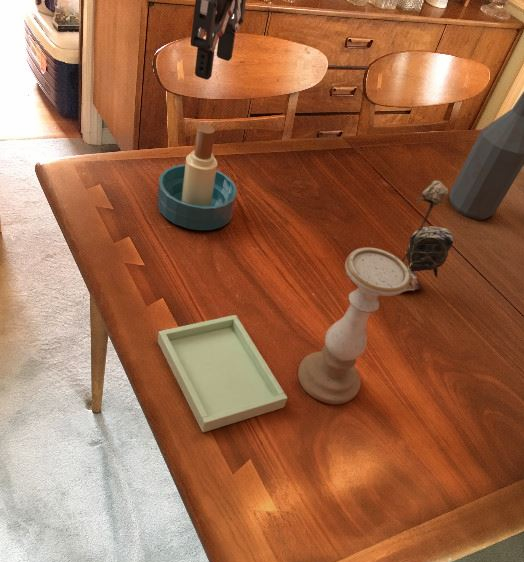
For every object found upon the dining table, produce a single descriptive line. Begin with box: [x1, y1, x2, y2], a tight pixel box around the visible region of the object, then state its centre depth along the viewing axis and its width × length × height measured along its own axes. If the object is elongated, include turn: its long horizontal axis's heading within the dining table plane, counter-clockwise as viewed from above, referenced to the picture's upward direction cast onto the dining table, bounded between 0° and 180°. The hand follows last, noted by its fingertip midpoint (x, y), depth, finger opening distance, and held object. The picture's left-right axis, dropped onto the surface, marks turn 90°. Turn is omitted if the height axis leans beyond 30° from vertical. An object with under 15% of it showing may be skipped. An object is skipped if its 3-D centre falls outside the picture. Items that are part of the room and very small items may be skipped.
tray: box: [157, 314, 288, 433], centre depth 73 cm, size 16×12×2 cm
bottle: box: [448, 91, 524, 221], centre depth 108 cm, size 10×10×30 cm
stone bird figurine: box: [401, 179, 457, 292], centre depth 89 cm, size 8×11×20 cm
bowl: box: [156, 163, 238, 231], centre depth 96 cm, size 13×13×5 cm
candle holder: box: [297, 246, 410, 405], centre depth 70 cm, size 9×9×20 cm
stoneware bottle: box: [181, 124, 219, 206], centre depth 92 cm, size 5×5×14 cm
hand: (213, 67), depth 80 cm, fingers open, 8 cm apart
